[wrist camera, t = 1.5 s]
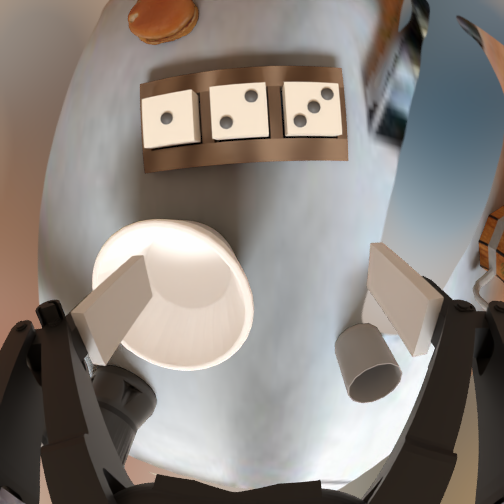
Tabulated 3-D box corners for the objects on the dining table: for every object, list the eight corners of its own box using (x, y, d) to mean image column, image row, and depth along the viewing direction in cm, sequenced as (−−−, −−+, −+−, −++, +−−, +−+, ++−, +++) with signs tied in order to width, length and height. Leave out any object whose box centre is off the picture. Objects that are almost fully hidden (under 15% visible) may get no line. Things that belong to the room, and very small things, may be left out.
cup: (347, 319, 41) (366, 360, 31) (388, 327, 41) (411, 365, 32) (326, 358, 43) (338, 401, 34) (366, 364, 44) (382, 403, 34)
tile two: (217, 140, 31) (212, 138, 27) (214, 93, 29) (209, 86, 25) (268, 136, 31) (268, 134, 27) (265, 89, 29) (265, 81, 25)
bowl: (118, 295, 41) (86, 332, 31) (147, 181, 35) (106, 192, 25) (227, 341, 43) (219, 389, 33) (279, 234, 37) (285, 265, 26)
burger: (211, 22, 27) (204, 7, 22) (153, 58, 29) (140, 48, 24) (179, -13, 24) (171, -28, 20) (127, 20, 26) (113, 9, 22)
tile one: (155, 148, 31) (143, 148, 28) (152, 103, 29) (141, 98, 26) (201, 142, 31) (193, 140, 28) (198, 95, 29) (191, 89, 26)
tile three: (285, 136, 30) (287, 133, 27) (281, 89, 28) (284, 81, 25) (334, 136, 30) (342, 134, 27) (330, 90, 28) (338, 83, 25)
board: (151, 172, 34) (144, 173, 32) (147, 88, 30) (139, 84, 28) (342, 160, 33) (348, 160, 31) (336, 73, 29) (341, 68, 27)
